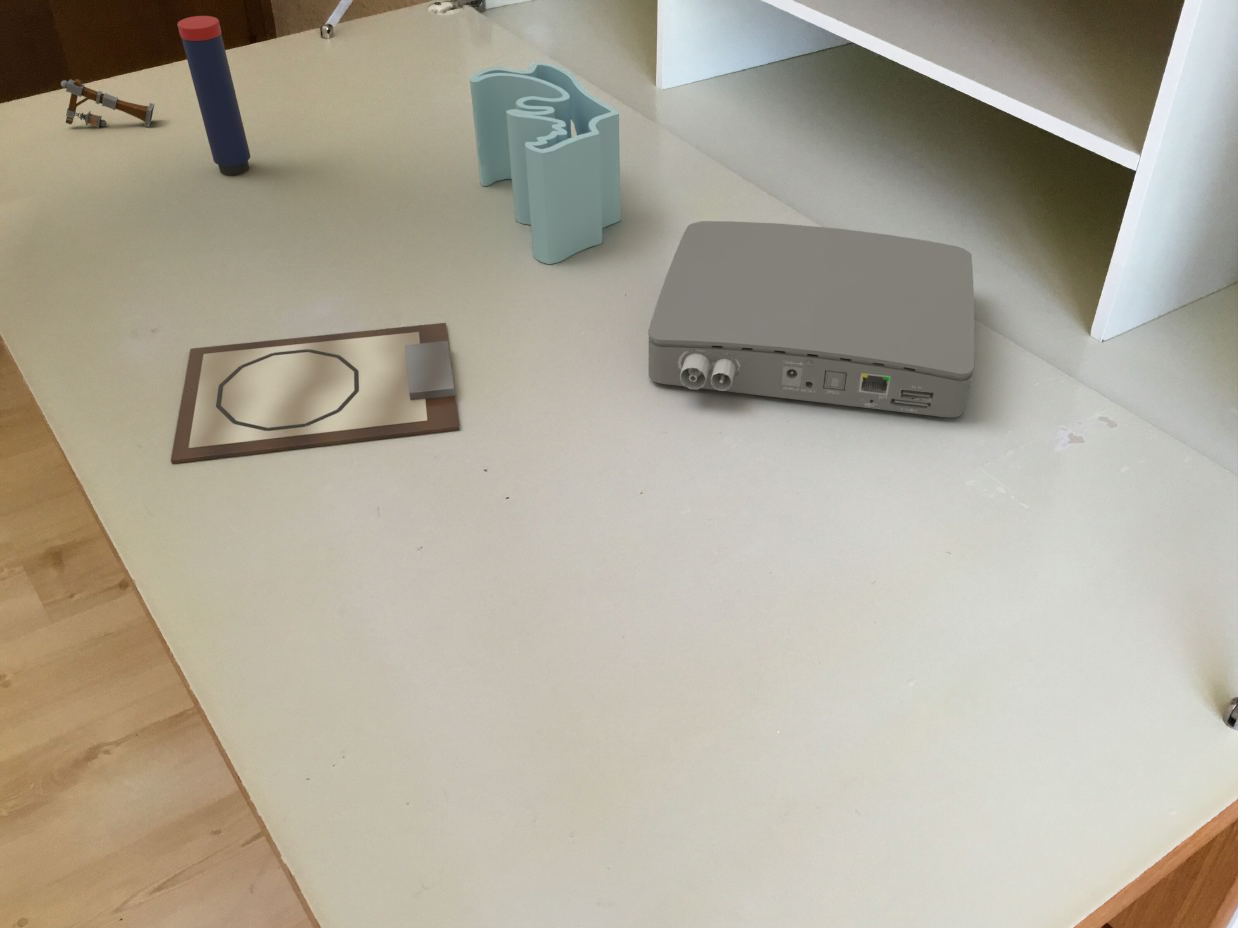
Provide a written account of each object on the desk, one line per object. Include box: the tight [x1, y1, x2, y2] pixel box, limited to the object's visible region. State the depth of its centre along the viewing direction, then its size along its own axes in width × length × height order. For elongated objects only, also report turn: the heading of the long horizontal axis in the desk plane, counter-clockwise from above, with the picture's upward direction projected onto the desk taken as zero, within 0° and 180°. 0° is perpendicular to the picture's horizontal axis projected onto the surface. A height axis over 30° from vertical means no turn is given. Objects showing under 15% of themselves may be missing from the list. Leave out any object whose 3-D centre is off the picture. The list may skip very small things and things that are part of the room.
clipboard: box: [170, 322, 461, 464], centre depth 78 cm, size 18×13×1 cm
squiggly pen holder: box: [469, 61, 622, 265], centre depth 96 cm, size 18×10×9 cm, turn 31°
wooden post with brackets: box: [60, 78, 155, 129], centre depth 110 cm, size 2×8×4 cm, turn 99°
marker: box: [177, 15, 251, 176], centre depth 100 cm, size 3×3×13 cm
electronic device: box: [647, 220, 975, 418], centre depth 82 cm, size 19×22×5 cm
